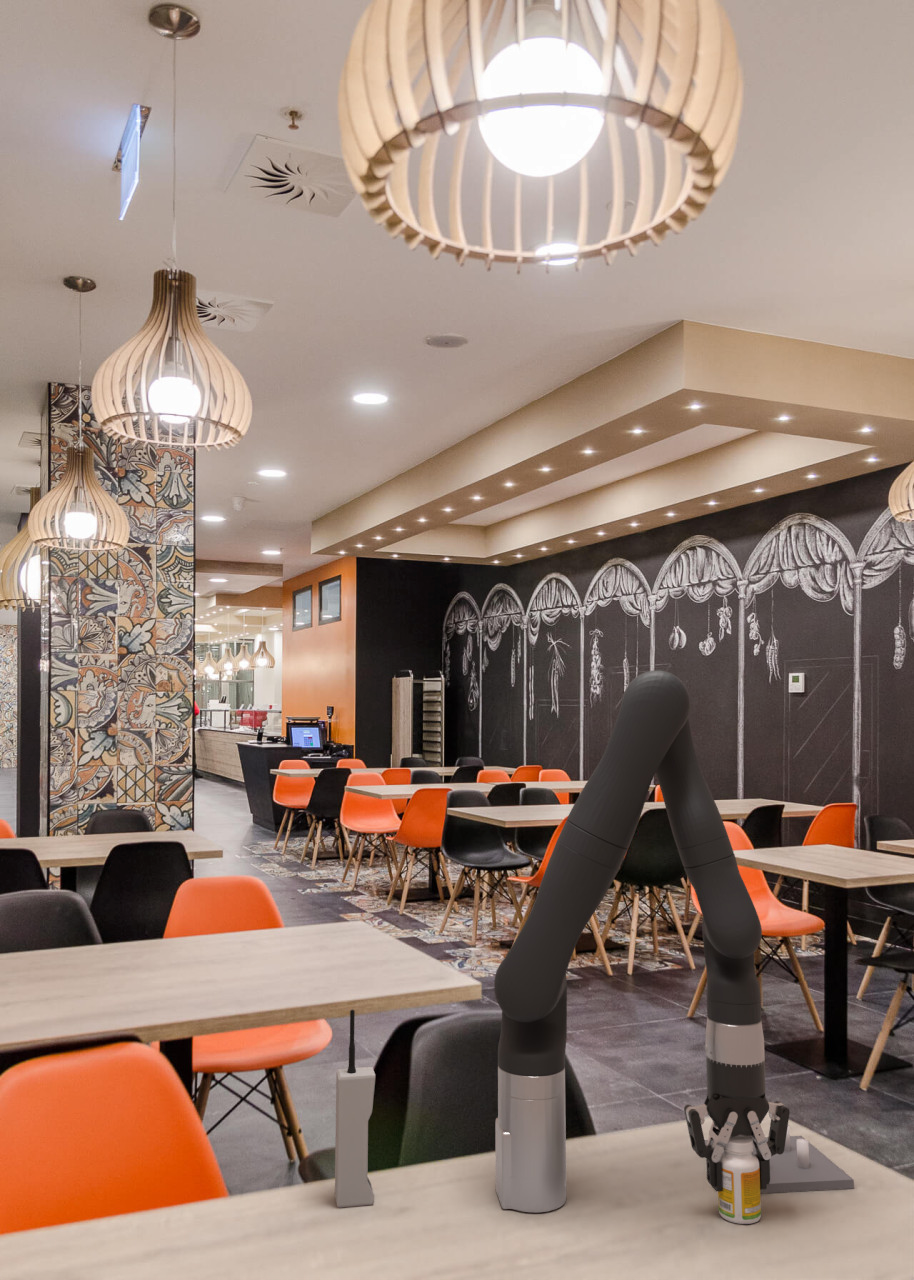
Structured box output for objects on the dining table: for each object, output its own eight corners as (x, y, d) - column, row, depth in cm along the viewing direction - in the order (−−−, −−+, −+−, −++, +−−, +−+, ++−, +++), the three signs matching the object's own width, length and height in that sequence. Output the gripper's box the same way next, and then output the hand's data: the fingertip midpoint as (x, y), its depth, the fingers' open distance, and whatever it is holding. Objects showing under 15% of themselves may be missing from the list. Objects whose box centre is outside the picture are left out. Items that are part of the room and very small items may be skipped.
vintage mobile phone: (374, 1205, 133) (376, 1011, 136) (336, 1208, 132) (339, 1013, 135) (371, 1193, 137) (373, 1004, 140) (334, 1196, 136) (337, 1006, 139)
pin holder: (743, 1194, 137) (742, 1158, 137) (701, 1148, 152) (700, 1116, 153) (854, 1188, 138) (852, 1153, 139) (801, 1143, 154) (800, 1111, 155)
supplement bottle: (762, 1209, 132) (759, 1132, 133) (760, 1228, 127) (757, 1147, 128) (720, 1203, 134) (718, 1128, 135) (716, 1221, 129) (714, 1142, 130)
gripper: (692, 1064, 128) (696, 1203, 126) (799, 1060, 130) (804, 1198, 128) (673, 1047, 136) (676, 1178, 134) (774, 1044, 137) (778, 1173, 135)
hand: (738, 1187), depth 131 cm, fingers closed on supplement bottle, 5 cm apart
